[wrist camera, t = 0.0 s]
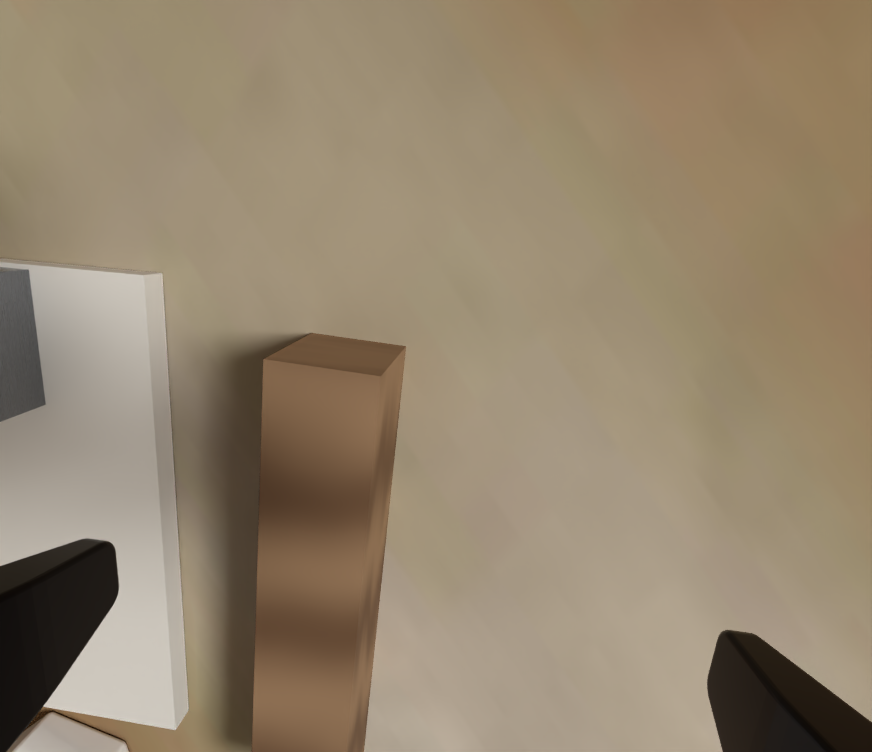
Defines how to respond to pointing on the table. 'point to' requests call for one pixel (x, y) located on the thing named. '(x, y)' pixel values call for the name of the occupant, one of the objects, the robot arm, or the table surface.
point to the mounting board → (103, 480)
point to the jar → (65, 737)
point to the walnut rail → (322, 538)
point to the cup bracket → (18, 346)
